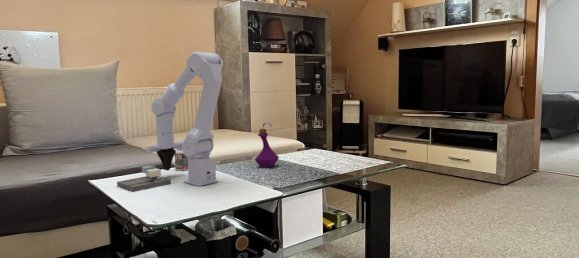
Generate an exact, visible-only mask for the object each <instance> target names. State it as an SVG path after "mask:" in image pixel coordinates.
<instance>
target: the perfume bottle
mask: <svg viewBox="0 0 579 258" xmlns="http://www.w3.org/2000/svg"><path fill="white" fill-rule="evenodd" d="M266 124H268V125H269V126H270V127H272V126H273V125H272V123H271V122H270V121H266V122H264V123H263V124H262V127H264V126H265V125H266ZM258 132H259V133H257V136H258V137H260V139H261V141H262V150H261V151H260V152H259V153H258V154H257V156H256V157H255V158H254V161H255V162H256V163H257V164H258V166H259V167H260V168H270V169H271V168H272V167H274V166H275V165H276V164H277V162H278V160H279V159H280V157H279V155H278V154H277V153H275V151H274V150H273V149H272V147H271V146H270V143H269V141H268V139H267V137H268V136H269V134H268V133H267V129H265V128H260V129H258Z"/></svg>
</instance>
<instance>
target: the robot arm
mask: <svg viewBox="0 0 579 258" xmlns="http://www.w3.org/2000/svg"><path fill="white" fill-rule="evenodd" d="M223 66H224V62H223V60H222V58H221V57H220V55H219V54H218V53H217V52H202V51H192V52H191V53H190V55H189V57H188V58H187V59H186V65H185V67H184V68H183V70H182V72H181V73H180V75H179V76H178V78H177V80H176V81H175V83H174V82H173V83H170V84H168V85H167V88H166V89H165V91H164V92H163V93H162V94H161V95H160V97H158V98H155V99H153V100H152V101H153V102H152V103H151V111H152V113H153V115H155V128H156V142H157V143H156V144H154V145H149V146H145V153H147V154H149V153H151V154H152V153H155V152H156V154H157V157H158V158H159V160H160V161H161V164H162V167H163V170H164V171H170V170H171V166H172V162H173V159H174V158H175V153H176V150H177V148H182V150H183V153H184V154H185V155H186V157H187V158H188V170H187V171H188V173H187V174H188V175H187V176H188V179H183V183H186V184H190V185H193V186H197V187H202V186H205V185H210V184H215V183H218V182H219V180H218V179H217V175H216V173H217V172H216V162H215V160H213V159H212V158H211V157H210V156H211V152H212V151H213V150H214V137H215V135H214V134H213V133H212V131H211V128H212V123H213V120H214V116H215V113H216V112H215V111H216V107H217V103H218V100H219V95H220V92H221V87H222V83H223V78H222V77H223V76H222V70H223ZM196 76H197V77H198V78H199V79H200V80H201V81H202V83H203V86H202V90H201V93H200V98H199V102H198V106H197V111H196V116H195V119H194V123H193V127H192V128H191V129H190V130H189V131H188V132H187V133H186V137H185V139H184V140H183V141H177V142H174V140H175V139H174V138H175V137H174V118H175V113H176V110H177V106H176V105H178V103H179V102H180V101H181V99H182V98H183V97H184V95H185V88H187V86H188V85H189V84H190V83H191V81H193V80H194V79H195V78H196Z"/></svg>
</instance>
